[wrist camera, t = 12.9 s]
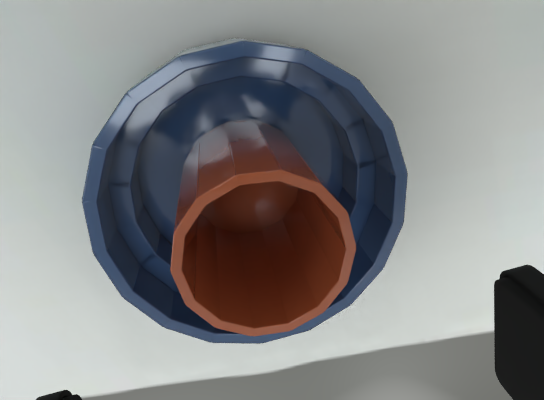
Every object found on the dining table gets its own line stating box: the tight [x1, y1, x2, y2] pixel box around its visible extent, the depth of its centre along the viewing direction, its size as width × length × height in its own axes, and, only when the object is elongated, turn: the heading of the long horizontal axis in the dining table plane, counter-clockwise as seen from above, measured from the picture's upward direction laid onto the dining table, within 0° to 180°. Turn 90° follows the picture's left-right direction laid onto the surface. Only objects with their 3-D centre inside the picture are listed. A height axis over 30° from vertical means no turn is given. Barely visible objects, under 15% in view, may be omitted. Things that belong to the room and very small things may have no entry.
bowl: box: [82, 38, 407, 343], centre depth 22 cm, size 14×14×6 cm
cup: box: [170, 119, 356, 336], centre depth 20 cm, size 7×7×9 cm
